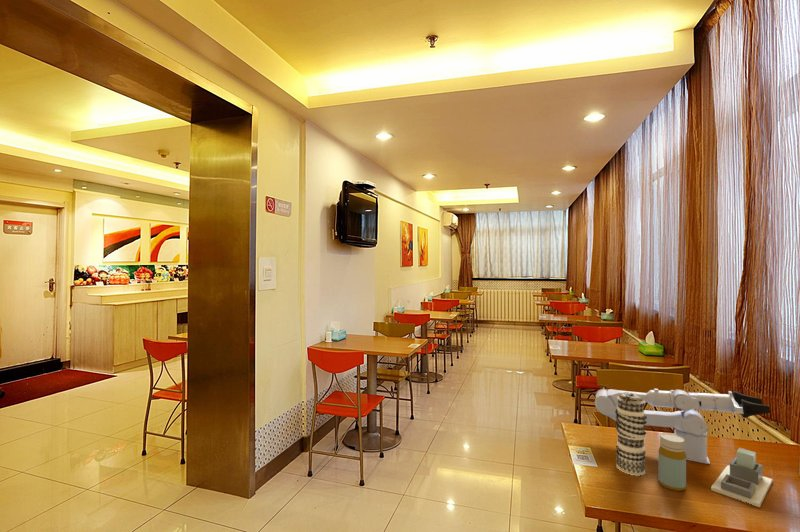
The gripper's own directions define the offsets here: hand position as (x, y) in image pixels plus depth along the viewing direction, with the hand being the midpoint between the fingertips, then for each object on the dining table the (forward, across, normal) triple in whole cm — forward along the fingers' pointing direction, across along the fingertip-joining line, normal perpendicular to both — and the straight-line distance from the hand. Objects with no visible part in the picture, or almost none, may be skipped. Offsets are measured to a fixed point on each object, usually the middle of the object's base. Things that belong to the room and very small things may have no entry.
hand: (765, 405), depth 130 cm
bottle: (-30, -25, +19) cm, 43 cm away
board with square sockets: (-11, -15, +21) cm, 28 cm away
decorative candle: (-41, -20, +18) cm, 49 cm away
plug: (-9, -10, +18) cm, 22 cm away
